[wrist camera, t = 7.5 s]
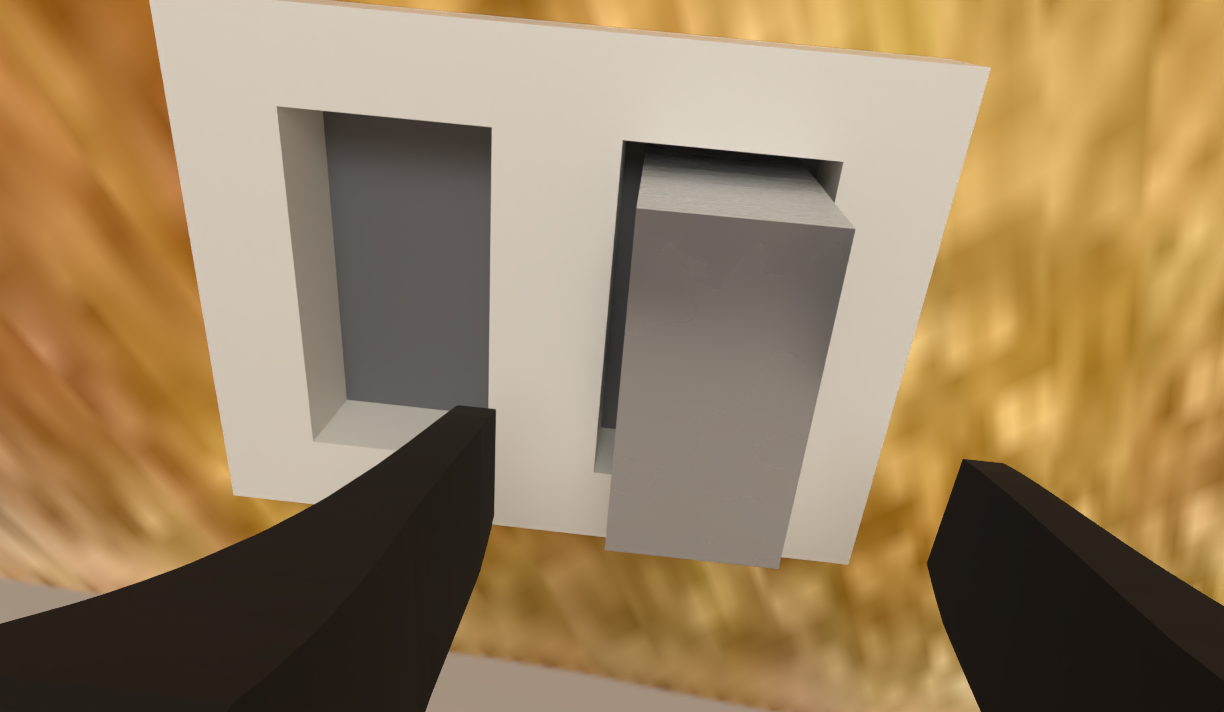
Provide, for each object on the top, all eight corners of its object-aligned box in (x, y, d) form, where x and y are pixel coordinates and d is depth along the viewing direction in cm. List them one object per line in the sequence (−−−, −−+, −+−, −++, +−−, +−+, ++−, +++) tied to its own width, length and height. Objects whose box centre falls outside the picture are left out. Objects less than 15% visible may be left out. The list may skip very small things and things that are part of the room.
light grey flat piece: (277, 444, 22) (233, 495, 20) (217, -11, 17) (147, -12, 15) (830, 506, 22) (848, 564, 19) (946, 58, 16) (990, 67, 14)
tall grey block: (621, 404, 20) (604, 550, 15) (647, 142, 17) (636, 208, 12) (749, 417, 20) (779, 569, 15) (797, 157, 17) (855, 228, 12)
